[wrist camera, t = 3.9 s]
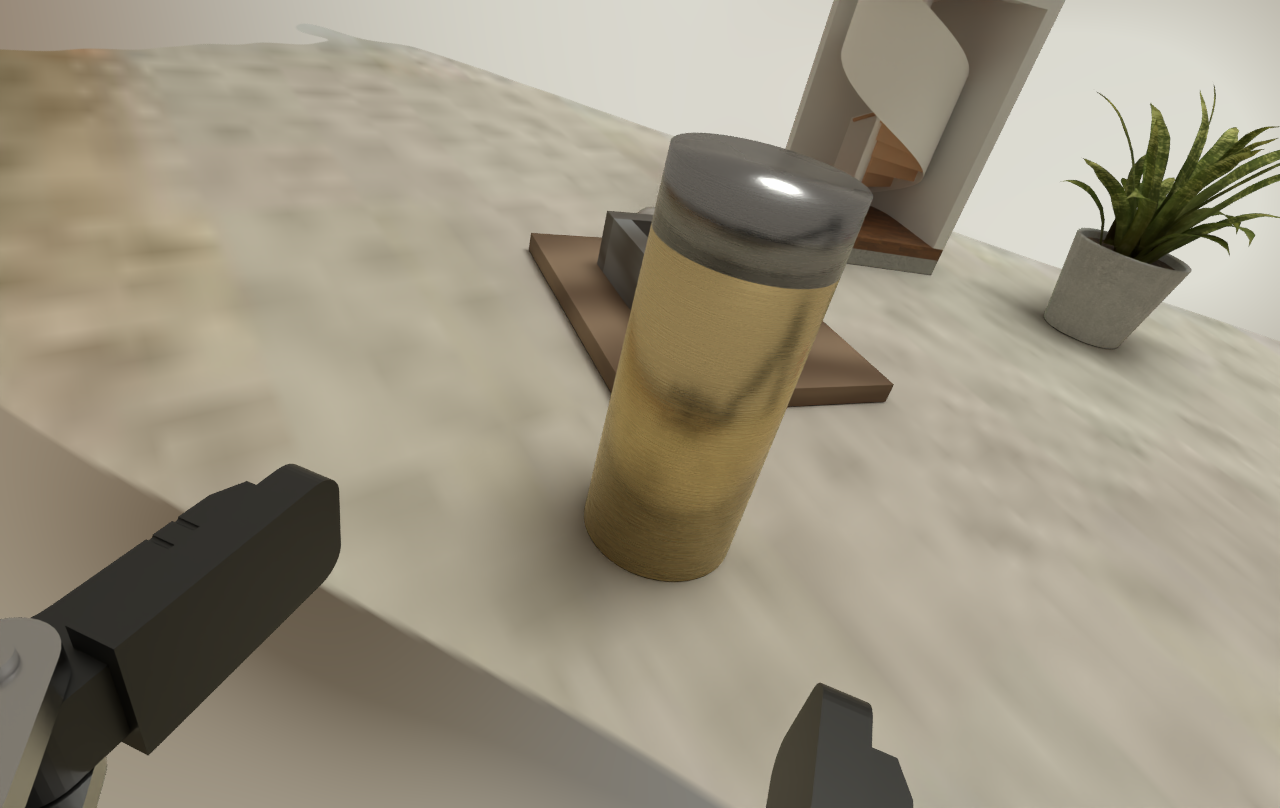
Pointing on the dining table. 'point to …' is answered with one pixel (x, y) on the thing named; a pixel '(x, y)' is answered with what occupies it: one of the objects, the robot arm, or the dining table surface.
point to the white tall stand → (916, 110)
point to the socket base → (604, 292)
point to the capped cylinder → (715, 345)
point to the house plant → (1149, 232)
